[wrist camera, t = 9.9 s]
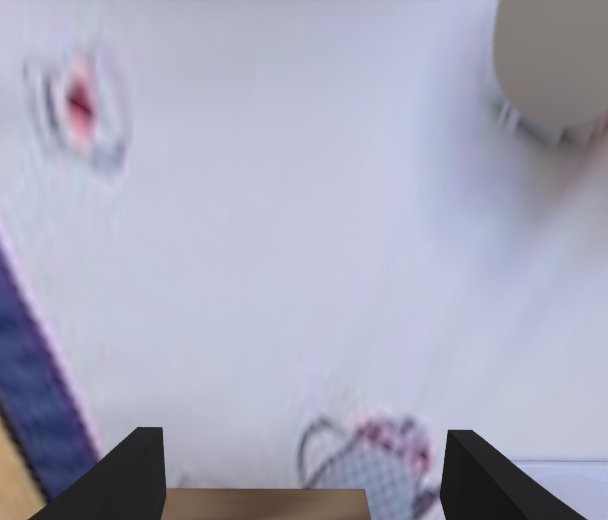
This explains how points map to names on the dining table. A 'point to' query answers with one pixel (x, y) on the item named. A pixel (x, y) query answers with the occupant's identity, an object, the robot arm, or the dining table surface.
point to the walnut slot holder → (265, 504)
